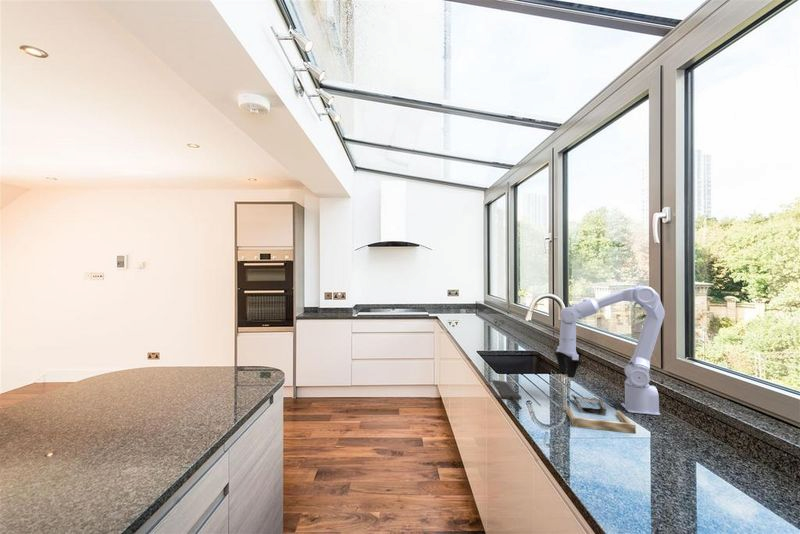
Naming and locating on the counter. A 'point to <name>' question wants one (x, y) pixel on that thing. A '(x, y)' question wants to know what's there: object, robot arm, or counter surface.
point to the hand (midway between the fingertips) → (566, 374)
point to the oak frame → (603, 423)
